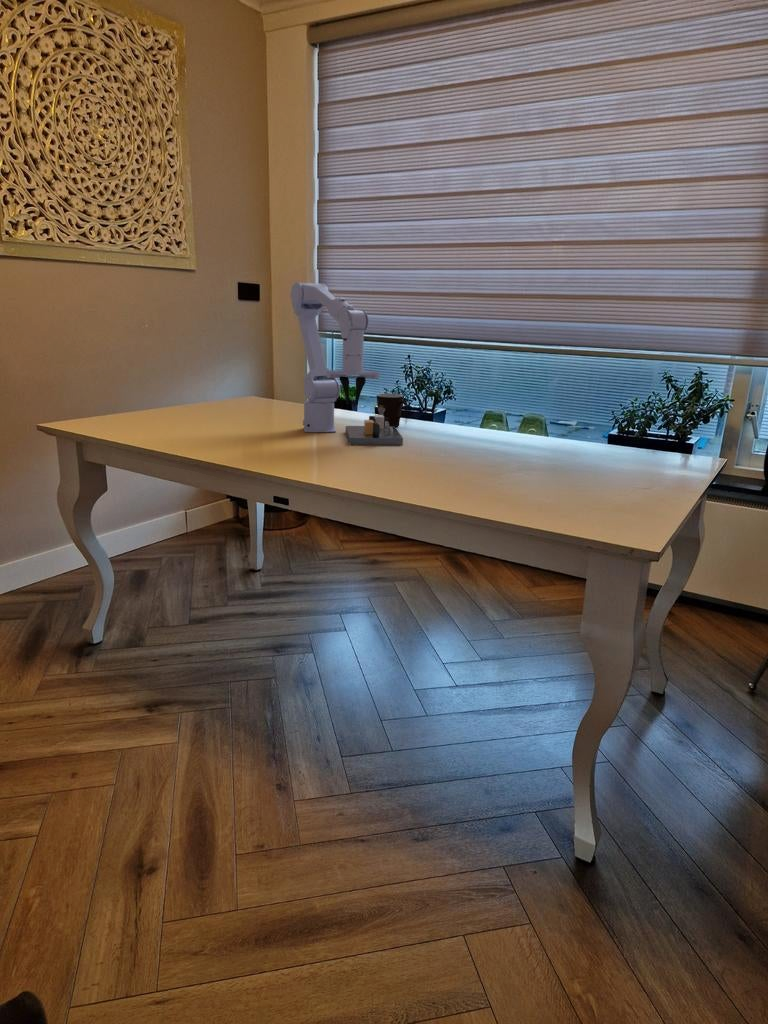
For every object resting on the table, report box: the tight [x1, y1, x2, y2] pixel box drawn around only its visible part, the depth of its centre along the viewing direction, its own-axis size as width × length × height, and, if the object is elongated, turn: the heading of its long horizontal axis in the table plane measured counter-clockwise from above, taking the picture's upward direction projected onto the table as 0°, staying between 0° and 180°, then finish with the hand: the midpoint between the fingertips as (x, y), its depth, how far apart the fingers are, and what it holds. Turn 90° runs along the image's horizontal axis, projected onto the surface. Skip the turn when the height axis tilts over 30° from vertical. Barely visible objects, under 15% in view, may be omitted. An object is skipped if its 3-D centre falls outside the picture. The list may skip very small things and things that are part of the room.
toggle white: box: [374, 414, 384, 429], centre depth 200 cm, size 2×4×4 cm, turn 7°
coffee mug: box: [376, 392, 409, 428], centre depth 211 cm, size 12×9×10 cm
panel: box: [345, 415, 404, 446], centre depth 194 cm, size 15×18×6 cm
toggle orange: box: [363, 419, 374, 435], centre depth 191 cm, size 2×4×4 cm, turn 7°
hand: (352, 404), depth 188 cm, fingers closed
